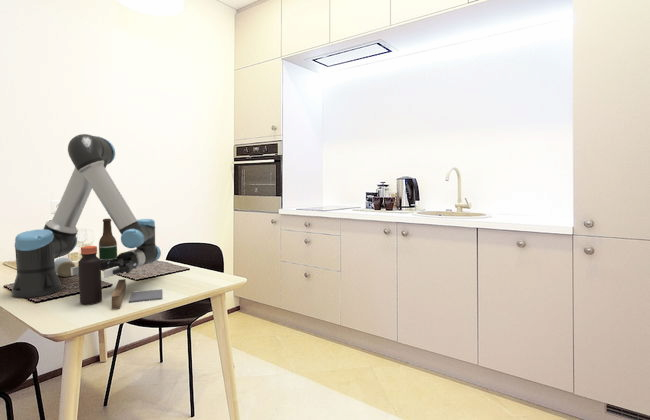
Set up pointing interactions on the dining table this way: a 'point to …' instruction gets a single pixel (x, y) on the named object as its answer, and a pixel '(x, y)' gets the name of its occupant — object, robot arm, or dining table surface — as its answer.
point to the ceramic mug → (64, 267)
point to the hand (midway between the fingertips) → (87, 273)
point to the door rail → (118, 294)
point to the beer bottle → (107, 242)
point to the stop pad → (145, 295)
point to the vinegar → (90, 276)
